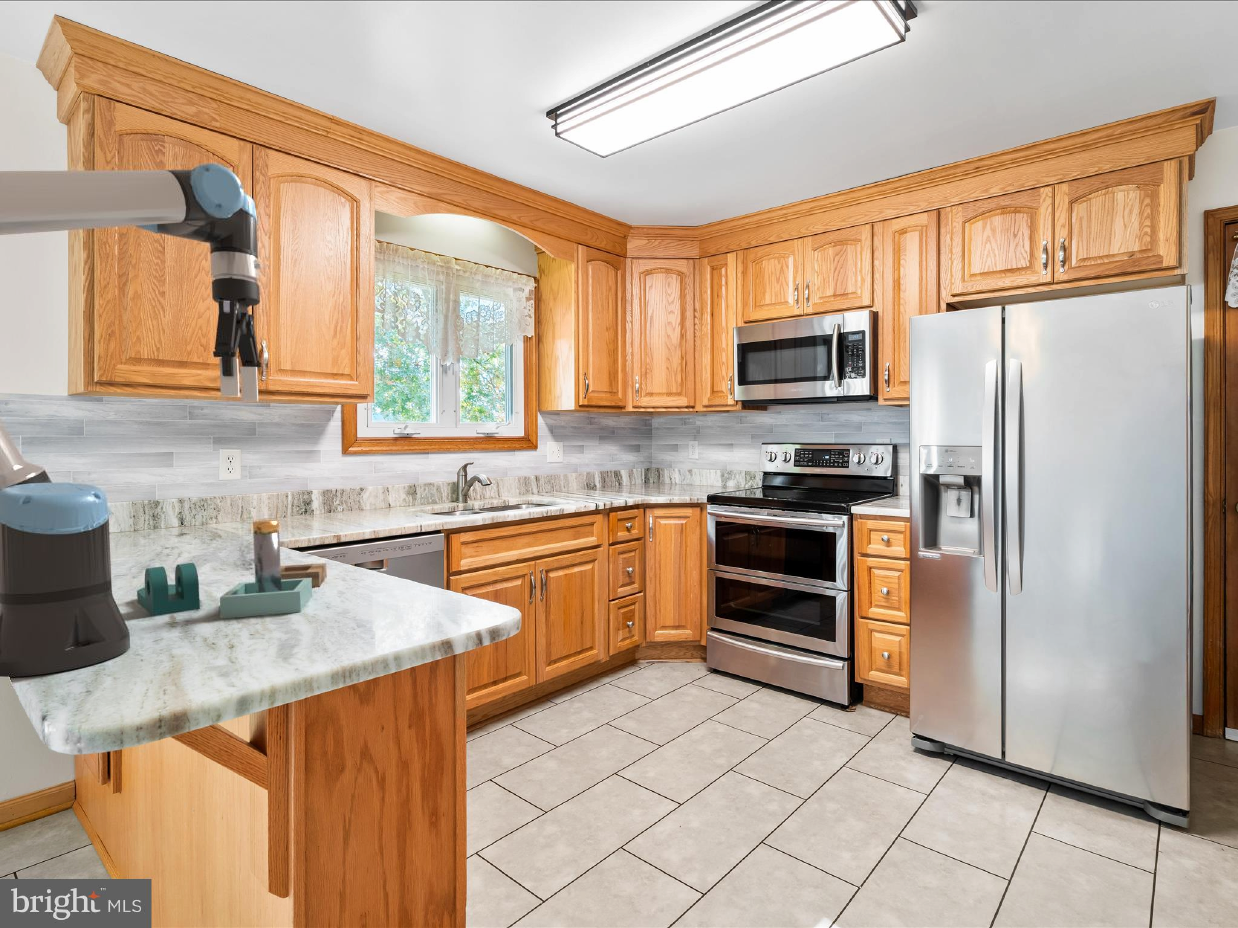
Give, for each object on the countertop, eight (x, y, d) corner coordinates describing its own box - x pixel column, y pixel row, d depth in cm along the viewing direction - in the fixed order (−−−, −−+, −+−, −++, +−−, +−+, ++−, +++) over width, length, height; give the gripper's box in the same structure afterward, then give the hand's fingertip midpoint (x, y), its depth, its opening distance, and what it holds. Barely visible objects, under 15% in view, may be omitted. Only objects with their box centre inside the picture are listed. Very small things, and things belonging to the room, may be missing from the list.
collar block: (319, 586, 134) (319, 571, 134) (263, 590, 131) (263, 575, 131) (326, 577, 144) (326, 562, 144) (274, 580, 141) (274, 566, 141)
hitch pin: (253, 604, 115) (250, 523, 115) (259, 599, 119) (255, 520, 119) (279, 602, 117) (276, 521, 116) (283, 597, 120) (280, 519, 120)
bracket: (199, 609, 118) (197, 565, 118) (153, 617, 113) (151, 570, 113) (177, 594, 131) (175, 553, 131) (134, 600, 126) (132, 558, 126)
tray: (300, 611, 114) (299, 591, 114) (220, 618, 111) (219, 597, 110) (312, 596, 125) (311, 577, 125) (240, 602, 122) (239, 582, 122)
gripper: (240, 264, 111) (246, 394, 112) (273, 296, 135) (277, 402, 136) (189, 262, 109) (194, 394, 110) (231, 295, 133) (236, 403, 134)
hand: (240, 399), depth 123 cm, fingers open, 13 cm apart
